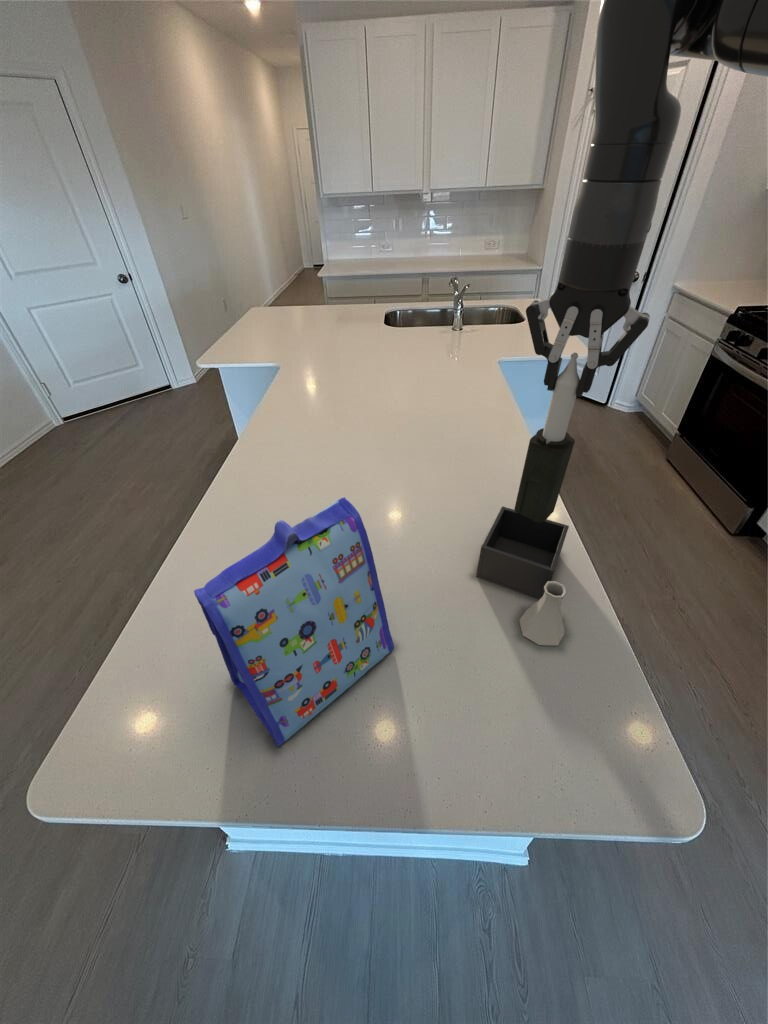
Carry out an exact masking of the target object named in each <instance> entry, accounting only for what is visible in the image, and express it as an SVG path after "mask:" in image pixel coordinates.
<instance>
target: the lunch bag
mask: <svg viewBox="0 0 768 1024" xmlns="http://www.w3.org/2000/svg"><path fill="white" fill-rule="evenodd" d="M273 531H274V532H273V534H272V536H270V539H268V540H267V542H265V544H263V545H262V546H260V547H258V548H257V549H256V550H253V551H252V552H250V553H249V554H248V555H246V556H245V557H243V558H241V559H240V560H238V561H236V562H234V563H233V564H231V565H230V566H228V567H226V568H225V569H224V570H222V571H221V572H220V573H218V574H217V575H215V576H214V577H213V578H212V579H210V580H209V581H208V582H206V583H205V584H204V586H202V587H200V588H196V589H194V590H193V593H194V596H195V598H196V600H197V602H198V604H199V606H200V607H201V610H202V613H203V614H204V618H205V620H206V621H207V624H208V627H209V629H210V631H211V633H212V635H213V636H214V637H215V639H216V643H217V646H218V649H219V650H220V653H221V655H222V658H223V661H224V663H225V666H226V669H227V672H228V674H229V676H230V681H231V682H232V684H233V685H234V686H236V687H237V688H238V689H239V690H240V691H241V693H242V695H243V696H244V698H245V699H246V700H247V702H248V703H249V705H250V707H251V709H252V710H253V711H254V713H255V715H256V716H257V717H258V718H259V720H260V721H261V723H262V724H263V725H264V727H265V728H266V730H267V731H268V732H269V735H270V736H271V738H272V739H273V741H274V742H275V746H276V747H280V746H281V745H283V744H284V743H285V742H287V740H288V739H290V738H292V736H293V735H295V734H296V733H297V732H298V731H299V730H301V729H302V728H303V727H304V726H305V725H307V724H308V723H309V722H310V721H311V720H312V719H313V718H315V717H316V716H317V715H318V714H319V713H321V712H322V711H323V710H324V709H325V708H327V707H328V706H329V705H330V704H331V703H333V701H335V700H336V699H337V698H338V697H339V696H341V695H342V694H343V693H344V692H345V691H347V690H348V689H350V687H352V686H353V684H355V683H356V682H358V680H359V679H361V678H362V677H363V676H364V675H366V674H367V672H368V671H369V670H371V669H372V668H373V667H374V666H376V665H377V664H378V663H379V662H381V661H382V660H383V659H384V658H385V657H386V656H387V655H389V653H391V652H392V651H394V649H395V645H394V644H395V643H394V640H393V637H392V634H391V631H390V627H389V621H388V616H387V612H386V607H385V603H384V598H383V594H382V590H381V587H380V581H379V576H378V572H377V567H376V563H375V559H374V558H375V557H374V555H373V554H374V553H373V551H372V547H371V542H370V540H369V537H368V532H367V530H366V527H365V525H364V521H363V519H362V516H361V515H360V513H359V511H358V510H357V508H356V507H355V506H354V504H353V503H351V502H350V501H349V500H348V499H347V498H346V497H341V498H339V499H337V500H335V501H334V502H332V503H331V504H329V505H328V506H326V507H325V508H324V509H322V510H320V511H318V512H316V513H315V514H314V515H312V516H309V517H308V518H305V519H304V520H302V521H301V522H299V523H297V524H295V525H293V526H291V525H290V524H289V523H287V522H286V521H285V520H284V519H283V520H282V519H280V520H278V521H277V522H276V523H275V525H274V530H273Z"/></svg>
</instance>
